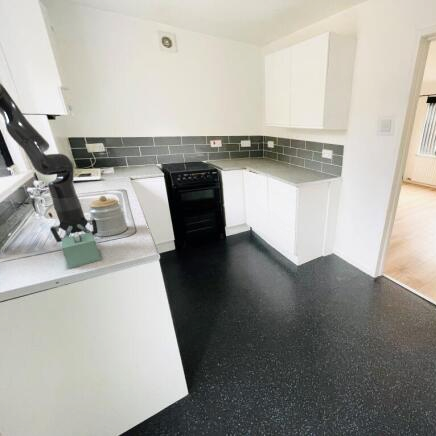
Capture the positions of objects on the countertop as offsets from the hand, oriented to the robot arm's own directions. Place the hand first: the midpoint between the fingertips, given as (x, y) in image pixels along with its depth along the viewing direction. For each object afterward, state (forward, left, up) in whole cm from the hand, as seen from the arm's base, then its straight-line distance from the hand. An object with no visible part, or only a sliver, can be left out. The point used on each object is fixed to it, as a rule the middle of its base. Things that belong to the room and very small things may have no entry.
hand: (81, 246), depth 99 cm
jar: (+12, +15, -1) cm, 19 cm away
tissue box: (0, -10, -1) cm, 11 cm away
